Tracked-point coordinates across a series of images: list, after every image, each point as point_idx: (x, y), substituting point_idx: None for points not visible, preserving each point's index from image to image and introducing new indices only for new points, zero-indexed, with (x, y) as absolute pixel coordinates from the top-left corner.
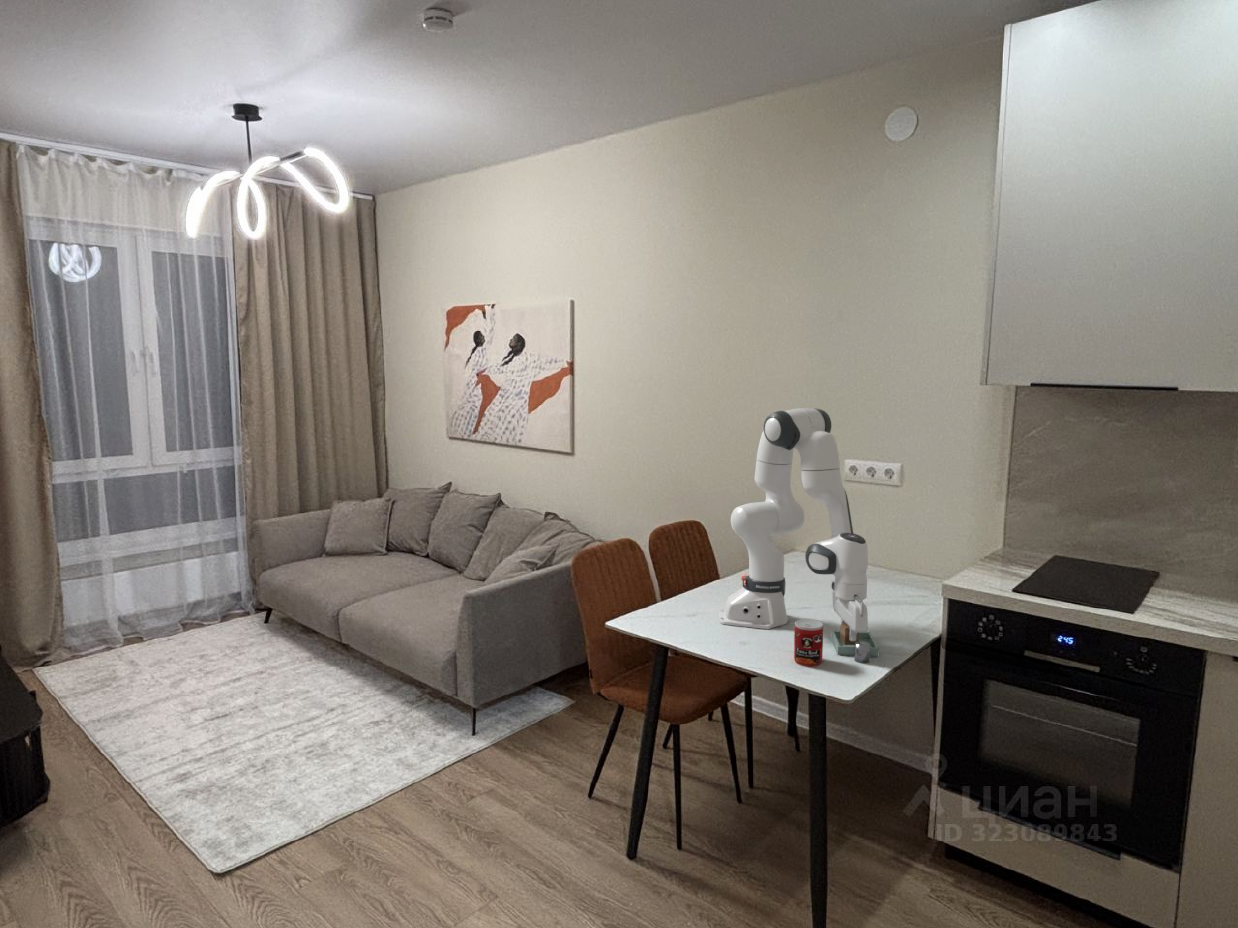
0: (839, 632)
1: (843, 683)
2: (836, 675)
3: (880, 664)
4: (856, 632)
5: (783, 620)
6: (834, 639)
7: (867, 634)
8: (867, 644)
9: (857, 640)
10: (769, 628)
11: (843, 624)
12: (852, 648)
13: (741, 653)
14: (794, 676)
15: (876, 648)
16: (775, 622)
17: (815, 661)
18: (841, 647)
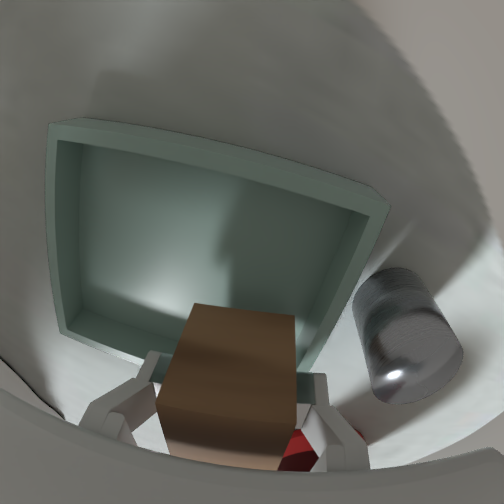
0: (65, 303)
1: (488, 399)
2: (447, 408)
3: (460, 234)
4: (348, 430)
5: (8, 379)
6: None
7: (64, 143)
8: (445, 352)
9: (294, 343)
10: (59, 416)
11: (195, 457)
12: (319, 349)
13: None
14: (394, 466)
15: (383, 220)
16: (32, 404)
17: None
18: None
